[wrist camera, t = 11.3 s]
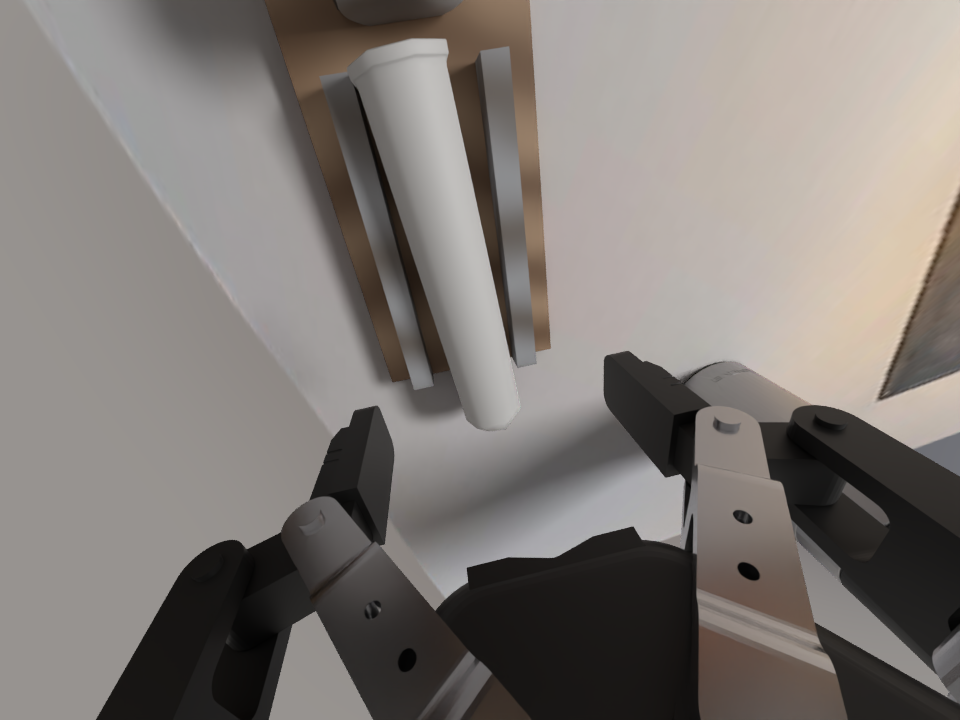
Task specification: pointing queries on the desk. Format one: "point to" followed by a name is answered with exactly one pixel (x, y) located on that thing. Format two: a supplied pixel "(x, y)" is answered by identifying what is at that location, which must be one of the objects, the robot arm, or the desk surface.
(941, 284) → the desk surface
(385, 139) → the tube
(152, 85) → the desk surface
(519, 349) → the pipe rack
